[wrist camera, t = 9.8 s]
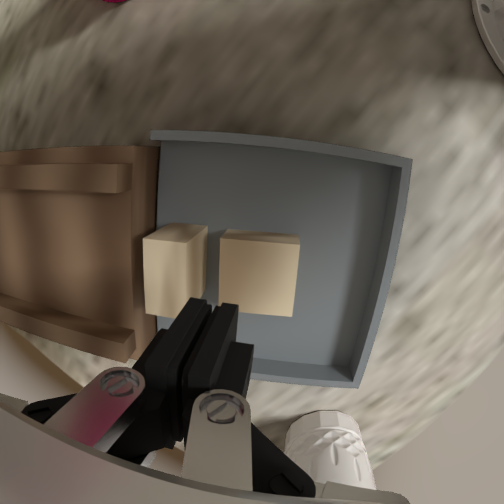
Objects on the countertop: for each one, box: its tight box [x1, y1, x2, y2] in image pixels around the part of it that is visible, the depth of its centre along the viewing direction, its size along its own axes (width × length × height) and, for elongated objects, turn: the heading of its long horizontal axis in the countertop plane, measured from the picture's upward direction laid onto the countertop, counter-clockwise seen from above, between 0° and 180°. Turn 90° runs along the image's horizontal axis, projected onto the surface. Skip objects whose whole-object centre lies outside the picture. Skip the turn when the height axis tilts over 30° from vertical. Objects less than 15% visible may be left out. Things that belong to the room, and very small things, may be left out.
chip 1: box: [143, 222, 208, 318], centre depth 19 cm, size 4×4×2 cm
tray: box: [150, 130, 413, 388], centre depth 20 cm, size 15×16×2 cm
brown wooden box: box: [0, 146, 160, 363], centre depth 20 cm, size 16×14×6 cm
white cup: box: [284, 411, 377, 490], centre depth 21 cm, size 8×8×10 cm
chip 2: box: [218, 229, 300, 317], centre depth 20 cm, size 4×4×2 cm
